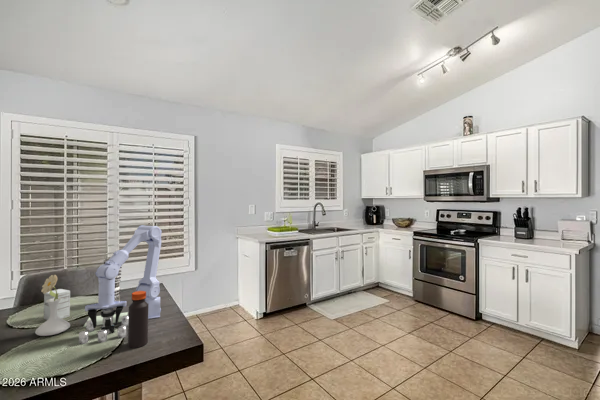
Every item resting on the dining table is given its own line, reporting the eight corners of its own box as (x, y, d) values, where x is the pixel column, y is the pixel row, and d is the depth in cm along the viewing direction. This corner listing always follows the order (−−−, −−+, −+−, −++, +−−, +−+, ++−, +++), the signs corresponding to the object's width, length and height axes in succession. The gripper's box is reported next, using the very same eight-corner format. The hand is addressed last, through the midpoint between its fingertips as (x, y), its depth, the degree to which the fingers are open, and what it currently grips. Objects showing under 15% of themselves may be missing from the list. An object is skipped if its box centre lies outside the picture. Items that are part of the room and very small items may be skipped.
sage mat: (128, 312, 147) (128, 312, 147) (125, 321, 136) (125, 320, 136) (89, 317, 140) (89, 316, 140) (83, 327, 129) (83, 326, 129)
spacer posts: (129, 322, 135) (130, 313, 135) (125, 338, 119) (125, 328, 119) (87, 328, 128) (87, 319, 129) (76, 346, 112) (77, 336, 112)
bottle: (143, 338, 119) (144, 289, 120) (150, 343, 115) (151, 292, 115) (125, 344, 114) (126, 292, 115) (132, 350, 110) (133, 296, 110)
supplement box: (42, 319, 138) (43, 292, 138) (60, 314, 145) (61, 288, 145) (52, 322, 135) (53, 294, 135) (70, 316, 142) (70, 290, 142)
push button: (96, 337, 120) (96, 313, 120) (96, 333, 124) (96, 309, 124) (115, 333, 124) (116, 309, 124) (114, 329, 128) (115, 306, 128)
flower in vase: (35, 331, 125) (37, 272, 125) (69, 324, 132) (71, 269, 132) (34, 342, 115) (35, 278, 115) (71, 334, 122) (72, 274, 123)
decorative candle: (104, 301, 164) (105, 256, 164) (122, 299, 167) (123, 255, 167) (98, 306, 155) (99, 259, 156) (118, 305, 158) (119, 258, 158)
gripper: (83, 298, 117) (82, 332, 117) (125, 293, 123) (124, 326, 123) (87, 293, 124) (86, 325, 123) (127, 289, 130) (126, 320, 130)
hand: (105, 325), depth 124 cm, fingers open, 7 cm apart
